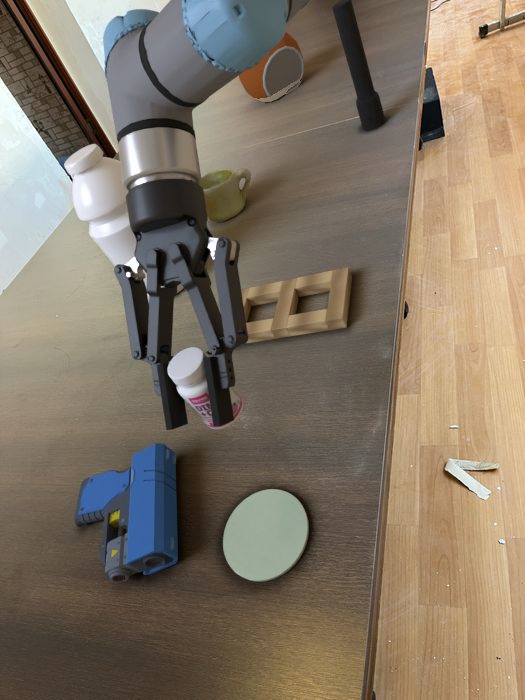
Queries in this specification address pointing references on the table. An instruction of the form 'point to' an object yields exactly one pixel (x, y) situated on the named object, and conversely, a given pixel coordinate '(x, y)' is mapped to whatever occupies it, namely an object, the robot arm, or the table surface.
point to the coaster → (266, 535)
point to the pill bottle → (198, 385)
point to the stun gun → (134, 513)
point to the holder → (287, 298)
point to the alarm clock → (275, 70)
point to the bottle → (103, 203)
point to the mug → (224, 193)
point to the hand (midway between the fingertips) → (200, 424)
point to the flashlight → (358, 66)
